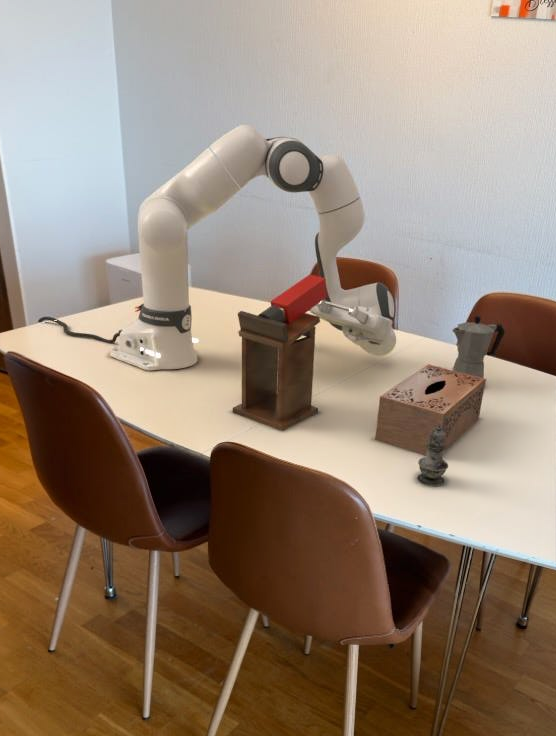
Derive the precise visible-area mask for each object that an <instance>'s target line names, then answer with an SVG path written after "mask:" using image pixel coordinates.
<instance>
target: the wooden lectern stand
mask: <svg viewBox="0 0 556 736" xmlns="http://www.w3.org/2000/svg"><path fill="white" fill-rule="evenodd" d="M237 318H238V323H239V328H240V330H238V331H237V332H238V336H239V337H241V403H240V404H237V405H235V406H233V407H232V413H234V414H236V415H239V416H241V417H245V418H247V419H250V420H252V421H255V422H257V423H260V424H262V425H265V426H268V427H271V428H273V429H276V430H279V431H281V432H282V431H284V430H286V429H288V428H290V427H291V426H294V425H296V424H298V423H300V422H302V421H305V420H306V419H308V418H310V417H312V416H315V415H316V414H319V407H317V406H315V405H312V399H313V382H314V381H313V380H314V364H315V347H316V329H317V328H316V326H317V325H318V324H319V323H321V318H320V317H318V316H316V315H314V314H312V313H311V314H310V313H307V312H306V313H305V314H303V315H302V316H301V317H299V318H298V319H296V320H295V321H294V322H292V323H291V324H290V325H288V324H285V323H281V322H278V321H275V320H271V319H268V318H264V317H261V316H258V315H257V314H254V313H250V312H246V311H243V310H240V311H239V312H237Z"/></svg>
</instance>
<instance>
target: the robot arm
mask: <svg viewBox="0 0 556 736" xmlns="http://www.w3.org/2000/svg"><path fill="white" fill-rule="evenodd" d="M260 176H265V177H267V178H268V179H269V181H270V182H271V183H272V184H273V185H274V186H276V187H277V188H278V189H280V190H282V191H284V192H287V193H306V192H308V194H309V195H310V197H311V199H312V201H313V204H314V206H315V210H316V212H317V215H318V220H319V231H318V232H317V233H316V235H315V236H314V237H315V238H314V250H315V257H316V262H317V268H318V273H319V277H322V278H325V279H326V290H327V297H326V298H325V299H324V300H322V301H321V302H320V303H318V304H317V305H315V306H314V307H313V308H311V309H310V310H309V312H310V313H311V315H314V316H318V317H320V320H323V321H325V322H327V323H329V324H330V326H332V327H334V328H335V329H336V330H338V331H342V334H343V335H344V337H345V338H346V339H347V340H349V341H350V342H352V343H353V344H355V345H356V346H359V347H360V348H361V349H362V350H363V351H365V352H366V353H368V354H370V355H373V356H377V357H384V356H387V355H389V354H390V353H391V352H393V350H394V349H395V347H396V344H397V335H396V332H395V331H394V328H393V323H394V320H395V318H396V314H397V313H396V311H397V310H396V309H397V308H396V307H397V306H396V300H395V297H394V295H393V293H392V292H391V290H390V289H389V288H388V287H387V285H385V284H384V283H382V282H379V281H378V282H374V283H370V284H365V285H362V286H358V287H355V288H350V289H343V288H342V287H341V286H342V285H341V281H340V276H339V270H338V264H337V256H338V253H339V252H340V251H341V250H342V249H343V248H344V247H345V246H347V245H348V244H350V243H351V241H353V240H354V239H355V238H356V237H357V236H358V234H359V233H360V232H361V230H362V229H363V226H364V224H365V217H366V216H365V209H364V204H363V201H362V199H361V196H360V192H359V190H358V187H357V184H356V182H355V179H354V176H353V175H352V173H351V170H350V169H349V167H348V165H347V163H346V161H345V160H344V158H342V157H341V156H340V155H337V154H324V155H322V156H319V157H318V156H317V155H316V154H315V153H314V152H313V151H312V150H311V149H310V148H309V147H308V146H307V145H305V143H303V142H302V141H300V140H299V139H297V138H294V137H290V136H277V137H272V138H265V137H264V136H263V134H262V133H261V132H260V131H259V130H257V129H256V128H255V127H253V126H252V125H249V124H241V125H238V126H237V127H234V128H233V129H231V130H230V131H228V132H226V133H225V134H224V135H222V136H220V137H219V138H218V139H216V140H215V141H213V142H212V144H210V145H209V146H208V147H207V148H206V149H205V150H204V151H203V152H201V153H200V154H199V155H198V156H197V157H196V158H195V159H193V160H192V161H191V162H190V163H189V164H188V165H186V166H185V167H184V168H183V169H182V170H181V171H179V172H178V173H177V174H175V175H174V176H173V177H171V178H170V179H169V180H167V181H166V182H165V183H164V184H162V185H161V186H160V187H158V188H157V189H156V190H155V191H154V192H152V193H151V194H150V195H148V197H146V198H145V199H144V200H143V201H142V202H141V204H140V207H139V209H138V216H137V235H138V236H137V237H138V248H139V261H140V273H141V286H142V301H143V303H141V304H140V305H138V306H135V307H134V309H135V310H134V312H135V313H137V312H139V313H138V317H137V319H135V320H134V321H132V322H131V323H130V324H129V325H127V326H126V327H124V328H123V329H120V330H119V329H118V332H115V334H113V336H112V338H111V339H106V338H103V337H101V336H99V335H96V334H92V333H86V332H85V333H84V332H76V331H75V332H74V331H70V330H68V325H67V323H65V322H64V321H62V320H59V319H57V318H55V317H52V316H42V317H40V318H39V319H38V320H37V323H43V322H44V321H51V322H53V323H56V324H58V325H59V326H62V327H63V329H62V330H63V332H64V333H65V334H66V335H69V336H73V337H82V338H91V339H94V340H98V341H99V342H102V343H105V344H114V343H115V342H116V341H117V340H118V345H117V346H114V347H113V348H112V349H111V350H110V352H109V357H111V358H113V359H116V360H118V361H121V362H124V363H126V364H129V365H132V366H134V367H136V368H139V369H142V370H145V371H158V370H178V369H179V370H180V369H185V368H188V367H192V366H194V365H195V364H196V363H197V362H198V361H199V360H198V356H197V353H196V349H195V345H194V343H199V339H198V338H194V337H193V335H192V319H193V317H192V306H191V305H190V291H189V290H190V289H189V243H188V242H189V238H188V236H189V235H188V233H189V232H188V230H190V229H191V228H192V227H193V226H195V225H196V224H198V223H199V222H200V221H202V220H203V219H205V218H206V217H208V216H209V215H211V214H213V213H215V212H217V211H218V210H219V208H220V209H221V207H222V206H223V205H224V204H226V203H227V202H228V201H229V200H230V199H231V198H232V197H234V196H235V195H236V194H237V193H238V192H239V191H241V189H244V187H246V185H247V184H248V183H249V182H250V181H252V180H253V179H255V178H257V177H260ZM54 320H57V321H54ZM117 338H118V339H117Z"/></svg>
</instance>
